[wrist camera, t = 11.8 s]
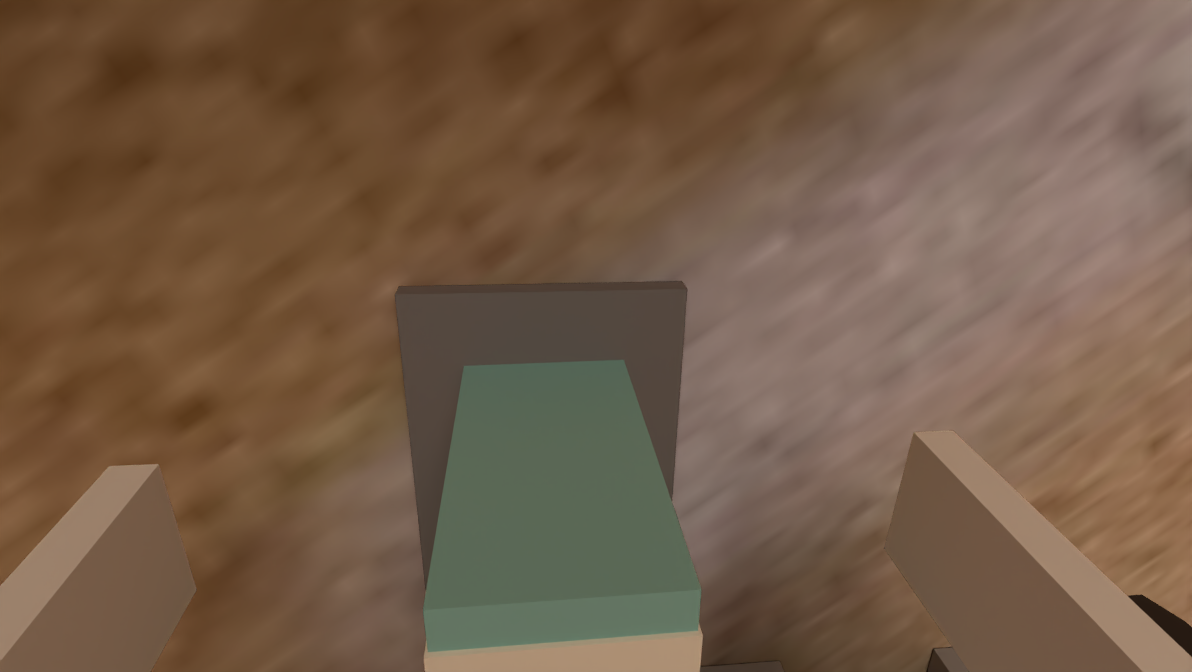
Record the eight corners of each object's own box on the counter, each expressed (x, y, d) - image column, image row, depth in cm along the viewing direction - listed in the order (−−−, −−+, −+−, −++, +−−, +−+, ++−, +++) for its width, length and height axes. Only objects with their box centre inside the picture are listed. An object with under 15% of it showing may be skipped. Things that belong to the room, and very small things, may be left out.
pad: (399, 286, 17) (394, 294, 16) (682, 281, 17) (687, 289, 17) (438, 675, 22) (436, 692, 21) (655, 659, 22) (659, 674, 22)
